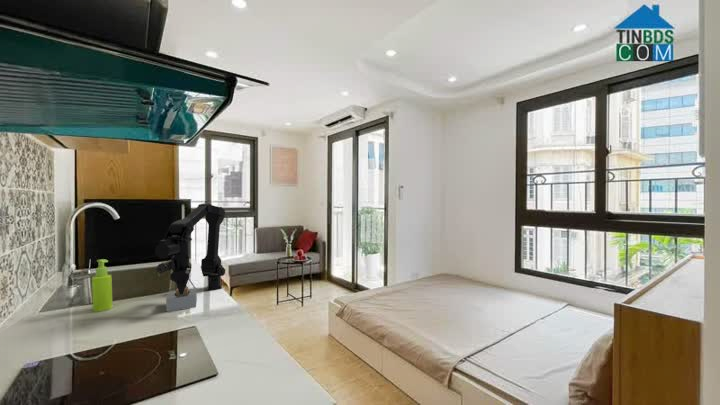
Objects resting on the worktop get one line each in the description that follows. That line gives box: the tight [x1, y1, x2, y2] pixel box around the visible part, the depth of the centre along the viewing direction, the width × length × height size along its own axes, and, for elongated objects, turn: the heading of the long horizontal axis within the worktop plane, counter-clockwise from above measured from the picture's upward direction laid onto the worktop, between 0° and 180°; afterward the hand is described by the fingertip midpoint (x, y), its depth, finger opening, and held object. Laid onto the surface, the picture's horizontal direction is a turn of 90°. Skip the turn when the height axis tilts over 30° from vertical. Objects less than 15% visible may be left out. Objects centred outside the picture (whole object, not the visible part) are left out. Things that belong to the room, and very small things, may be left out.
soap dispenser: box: [91, 258, 113, 313], centre depth 117 cm, size 6×7×20 cm
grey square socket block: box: [165, 287, 198, 312], centre depth 120 cm, size 10×10×5 cm
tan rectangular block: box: [175, 286, 189, 296], centre depth 120 cm, size 3×4×7 cm
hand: (182, 290), depth 120 cm, fingers open, 8 cm apart
